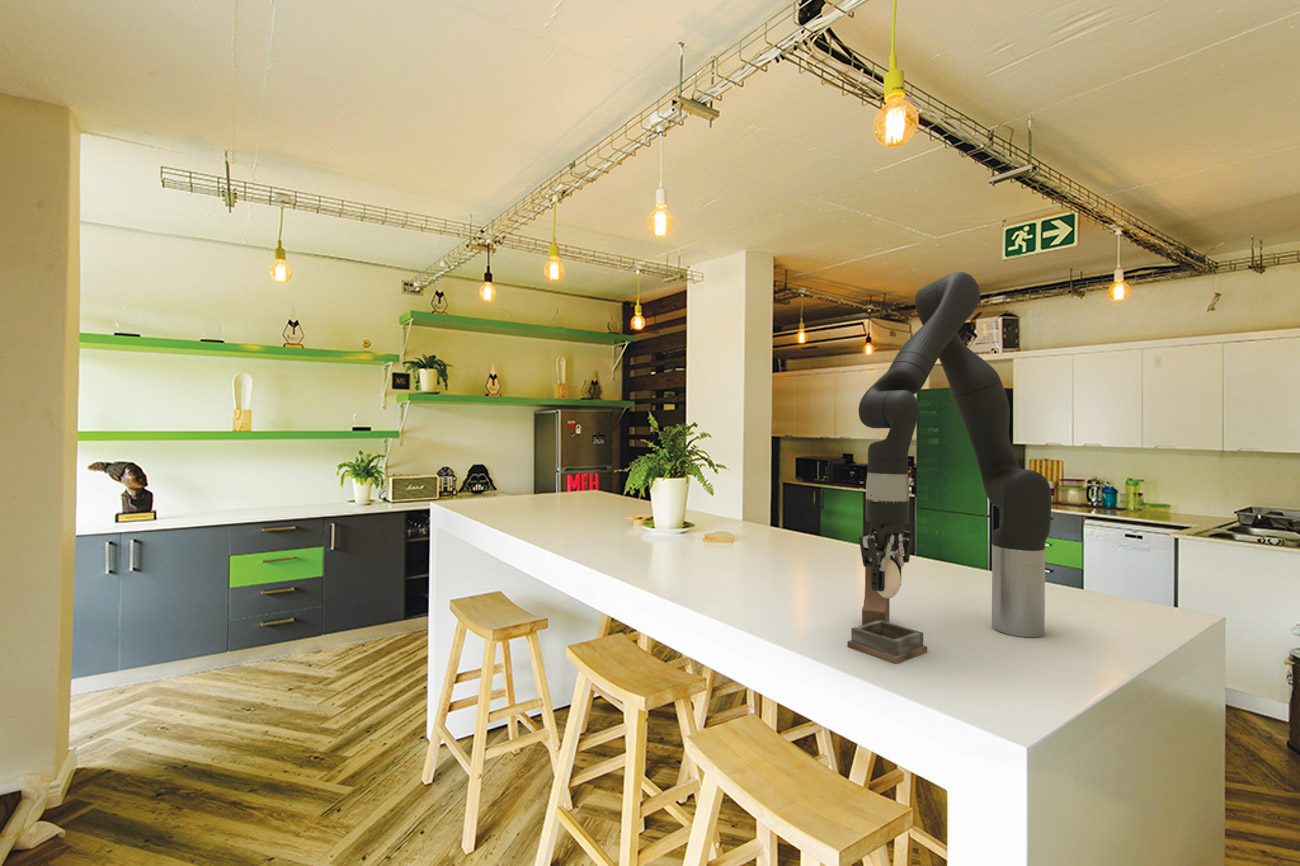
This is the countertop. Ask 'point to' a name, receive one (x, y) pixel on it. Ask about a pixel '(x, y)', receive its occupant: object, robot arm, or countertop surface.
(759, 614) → the countertop surface
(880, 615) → the wooden block
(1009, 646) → the countertop surface
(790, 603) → the countertop surface
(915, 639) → the holder
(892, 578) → the egg
